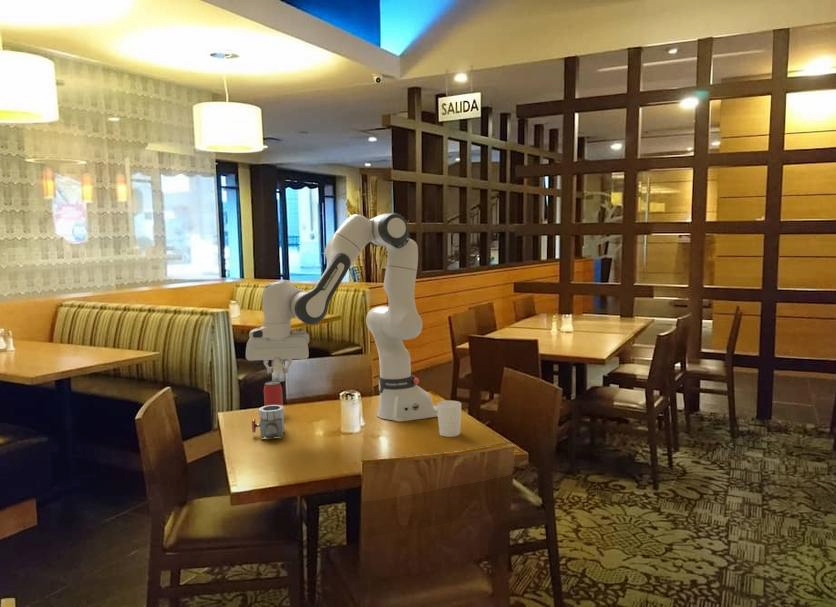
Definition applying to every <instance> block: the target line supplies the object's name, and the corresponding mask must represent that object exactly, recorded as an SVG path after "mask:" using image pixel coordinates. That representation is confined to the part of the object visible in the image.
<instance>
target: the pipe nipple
mask: <svg viewBox="0 0 836 607" xmlns="http://www.w3.org/2000/svg"><path fill="white" fill-rule="evenodd" d="M271 367H272V373H271V381H273V382H280V383H281V382H285V380H286V379H285V376H286V375H285V373H284V367H285V359H281V358H274V360H271Z"/></svg>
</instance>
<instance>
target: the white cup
mask: <svg viewBox="0 0 836 607" xmlns="http://www.w3.org/2000/svg"><path fill="white" fill-rule="evenodd" d="M436 407H437V413H438V416H437V422H438V423H437V425H438V430H439V431H438V432H439V435H440V436H441V437H444V436H445V438H447V437H448V438H452V437H453V438H454V437H458V436H460V435H461V427H462V402H460V401H458V400H441V401H439V402H437V403H436Z"/></svg>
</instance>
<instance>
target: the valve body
mask: <svg viewBox="0 0 836 607" xmlns="http://www.w3.org/2000/svg"><path fill="white" fill-rule="evenodd" d="M284 407H285V406H284V405H283V406H281V405H268V406H265V405H264V406H261V407H259V409H258V418H259V420H260V421H259V423H257V422H256V418H252V419H251V429H252V430H251V431H252V433H256V432H257V428H259V429H260V430H259V432H260V439H261V438H264V437H266V438H274V437H283V438H284V435H283V432H285V420H284V419H285V408H284Z"/></svg>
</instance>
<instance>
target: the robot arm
mask: <svg viewBox="0 0 836 607" xmlns="http://www.w3.org/2000/svg"><path fill="white" fill-rule="evenodd" d="M409 229H410V228H409V224H408V222H407V220H406V218H405V217H404V216H402V215H401V214H399V213H396V212H388V213H381V214H379V215H377V216H374V217H371V218H367V217H366V216H364V215H362V214H358V213H356V214H355V213H354V214H351V215H350V216H349V217H348V218H346V220H344V222H343V223H342V224H341V225H340V226H339V227H338V228H337V230H336V231H335V232H334V233H333V235H332V236H331V237H330V239H329V240H328V242H327V244H326V246H325V249H324V256H325V259H326V262H327V263H326V264H327V265H326V268H325V270H324V271H323V273H322V275H321V276H320V278H319V279H318V281H317V283H316V284H315V285H314V287H313V288H312V289H311V290H308V291H307V290H306V291H305V290H303V289H300V288H298V287H295V286H293V285H291V284H290V283H288V282H287V281H285V280H282V281H281V280H280V281H274V282H270V283H268V284H266V285H265V286H264V289H263V293H262V311H263V321H262V326H259V327H256V328H253V329H251V330H250V331H249V333H248V336H249V339H248V341H247V342H246V345H245V346H246V347H245V359H246V360H247V361H249V362H250V361H263V365H264V367H265V368H266V370H267V373H266V374H272V366H269V361H272V360H274V358H281V359H284V360H286V361H287V362H286V363H288V364H287V365H286V366H284V374H286V373H287V374H289V372H290V371H289V370H290V366H291V364H292V363H293V360H306V359H308V358H309V354H310V352H309V346H308V345H309V343H310V334H309V332H307V331H305V330H292V328H291V327H292V325H291V323H292V322H291V321H292V319H296V320H299V321H301V322H302V323H304V324H306V325H315V324H318V323H320V322H321V321H323V320H324V319H325V317H326V315H327V313H328V310H329V305H330V301H331V299H332V297H333V295H334V294H335V292H336V291H337V290H338V288H339V286H340V285H341V283H342V281H343V279H344V278H345V277H346V275H347V273H348V271H349V270H350V269H351V266H352V265H353V264H354V263H355V261H356V260H357V258H358V257H359V256H360V254H361V253H362V252H363V250H364V249H365V247H366V246H367V245H368V244H370V245H372V246H374V247H385V249H386V251H387V260H386V266H385V273H384V280H383V286H382V287H383V290H384V292H385V293H386V296H387V301H388V302H387V303H388V305H381V306H380V305H379V306H376V307H373V308H371V309H370V310H369V311H368V312H367V314H366V318H365V324H366V327H367V329H368V330H369V331H370V333H371V335H372V336H373V339H374V342H375V343H374V344H375V346H376V349H377V354H378V359H379V360H378V361H379V362H378V364H379V377H378V391H379V401H378V402H379V404H378V409H377V414H376V415H377V417H378V418H381V419H383V420H389V421H395V422H399V423H401V422H409V421H414V420H422V419H429V418H436V417H437V418H438V413H437V405H435V404H434V402H433V398H432V396H431V394H429V392H427V391H426V390H425V389H424V388H422V387H420V386H419V385H418V384H419V383H420V379H419V378H418V377H416V376H415V375H413V374H412V372H411V369H412V368H411V354H410V352H409V350H408V349H407V348H406V345H405V343H404V342H403V341H407V340H414V339H416V338H417V337H418V336H419V335H420V334H421V333H422V330H423V318H422V317H421V315H420V313H419V312H418V310H417V305H416V298H415V288H416V280H417V272H418V266H419V265H418V264H419V247H418V244H417V242H416V241H415V240H414V239H411V234H410V231H409Z"/></svg>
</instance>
